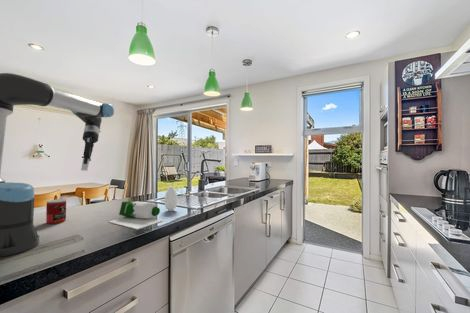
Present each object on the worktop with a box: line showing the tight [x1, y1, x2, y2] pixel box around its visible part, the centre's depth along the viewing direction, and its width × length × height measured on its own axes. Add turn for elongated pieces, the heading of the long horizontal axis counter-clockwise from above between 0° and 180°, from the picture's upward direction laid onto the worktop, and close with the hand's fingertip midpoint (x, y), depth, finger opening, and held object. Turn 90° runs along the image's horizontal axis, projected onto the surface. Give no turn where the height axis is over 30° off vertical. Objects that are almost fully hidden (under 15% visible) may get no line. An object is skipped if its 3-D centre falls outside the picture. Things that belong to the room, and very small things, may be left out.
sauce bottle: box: [163, 182, 178, 212], centre depth 133 cm, size 8×8×18 cm
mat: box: [108, 216, 164, 231], centre depth 109 cm, size 22×15×1 cm
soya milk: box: [118, 200, 161, 219], centre depth 115 cm, size 9×9×20 cm
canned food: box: [45, 198, 67, 225], centre depth 107 cm, size 8×8×11 cm
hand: (84, 169), depth 112 cm, fingers closed
